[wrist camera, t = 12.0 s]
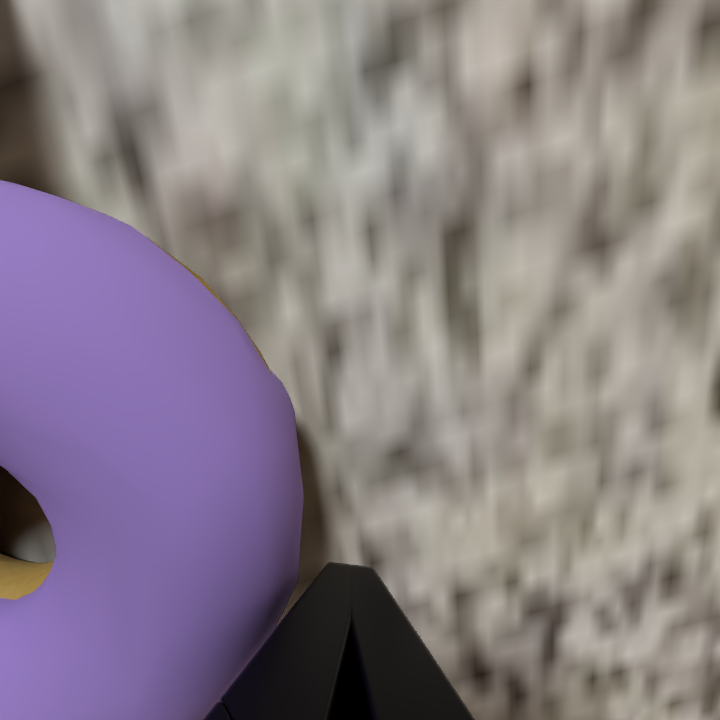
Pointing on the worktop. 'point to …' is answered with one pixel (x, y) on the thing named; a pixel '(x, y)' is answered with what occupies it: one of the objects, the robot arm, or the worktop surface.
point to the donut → (135, 474)
